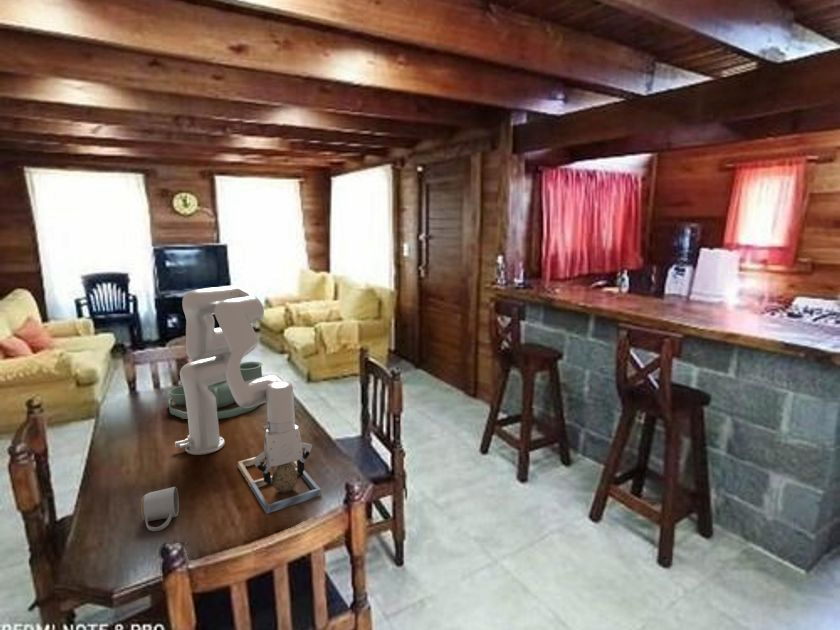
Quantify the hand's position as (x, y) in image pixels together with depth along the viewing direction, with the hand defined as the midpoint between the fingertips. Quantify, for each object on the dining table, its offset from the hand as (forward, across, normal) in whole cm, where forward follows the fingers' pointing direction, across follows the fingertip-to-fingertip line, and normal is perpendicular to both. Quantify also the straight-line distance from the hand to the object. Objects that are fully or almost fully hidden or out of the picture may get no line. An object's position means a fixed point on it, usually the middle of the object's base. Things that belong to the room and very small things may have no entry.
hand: (284, 478), depth 141 cm
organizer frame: (+4, 0, +7) cm, 8 cm away
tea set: (+5, -1, +84) cm, 84 cm away
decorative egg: (+4, 0, 0) cm, 5 cm away
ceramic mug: (+5, -32, +6) cm, 33 cm away
